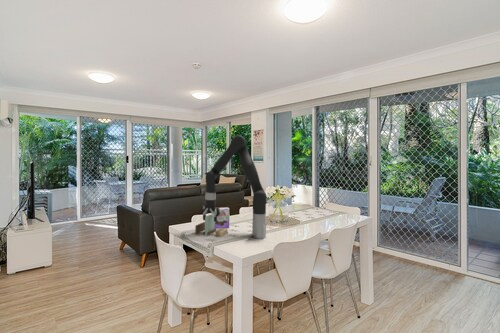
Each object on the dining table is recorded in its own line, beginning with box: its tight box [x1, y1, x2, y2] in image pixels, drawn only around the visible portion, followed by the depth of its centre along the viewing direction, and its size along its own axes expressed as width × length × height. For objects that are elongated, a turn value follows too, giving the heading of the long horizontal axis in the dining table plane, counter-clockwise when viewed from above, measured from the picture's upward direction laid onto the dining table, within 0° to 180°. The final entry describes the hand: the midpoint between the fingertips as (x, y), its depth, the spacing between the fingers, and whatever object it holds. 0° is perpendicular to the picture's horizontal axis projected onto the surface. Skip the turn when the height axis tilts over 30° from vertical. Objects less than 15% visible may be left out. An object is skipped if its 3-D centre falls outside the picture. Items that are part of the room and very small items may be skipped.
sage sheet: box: [204, 213, 215, 236], centre depth 203 cm, size 2×11×14 cm, turn 160°
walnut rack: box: [194, 221, 217, 236], centre depth 204 cm, size 10×12×7 cm
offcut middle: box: [214, 230, 229, 238], centre depth 200 cm, size 5×10×2 cm, turn 161°
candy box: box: [214, 207, 231, 230], centre depth 219 cm, size 14×6×16 cm, turn 101°
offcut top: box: [214, 228, 228, 235], centre depth 200 cm, size 5×10×2 cm, turn 162°
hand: (209, 220), depth 203 cm, fingers open, 8 cm apart
